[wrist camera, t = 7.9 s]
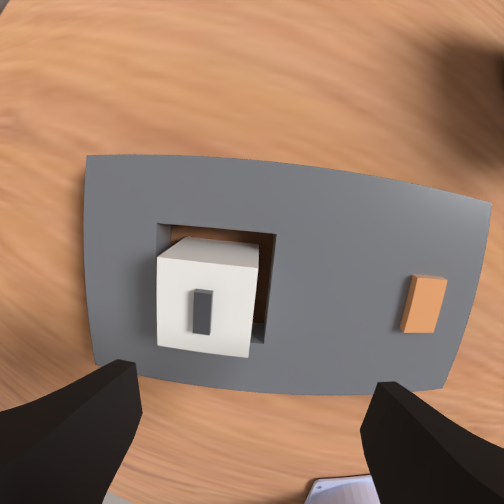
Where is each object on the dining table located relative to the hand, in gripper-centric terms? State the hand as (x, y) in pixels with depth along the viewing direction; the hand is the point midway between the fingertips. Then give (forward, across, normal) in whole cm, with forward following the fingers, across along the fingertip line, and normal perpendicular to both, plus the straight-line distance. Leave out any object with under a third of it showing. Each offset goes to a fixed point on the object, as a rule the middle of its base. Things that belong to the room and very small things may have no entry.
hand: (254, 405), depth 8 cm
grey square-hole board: (+9, -2, -1) cm, 10 cm away
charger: (+9, +2, -1) cm, 10 cm away
